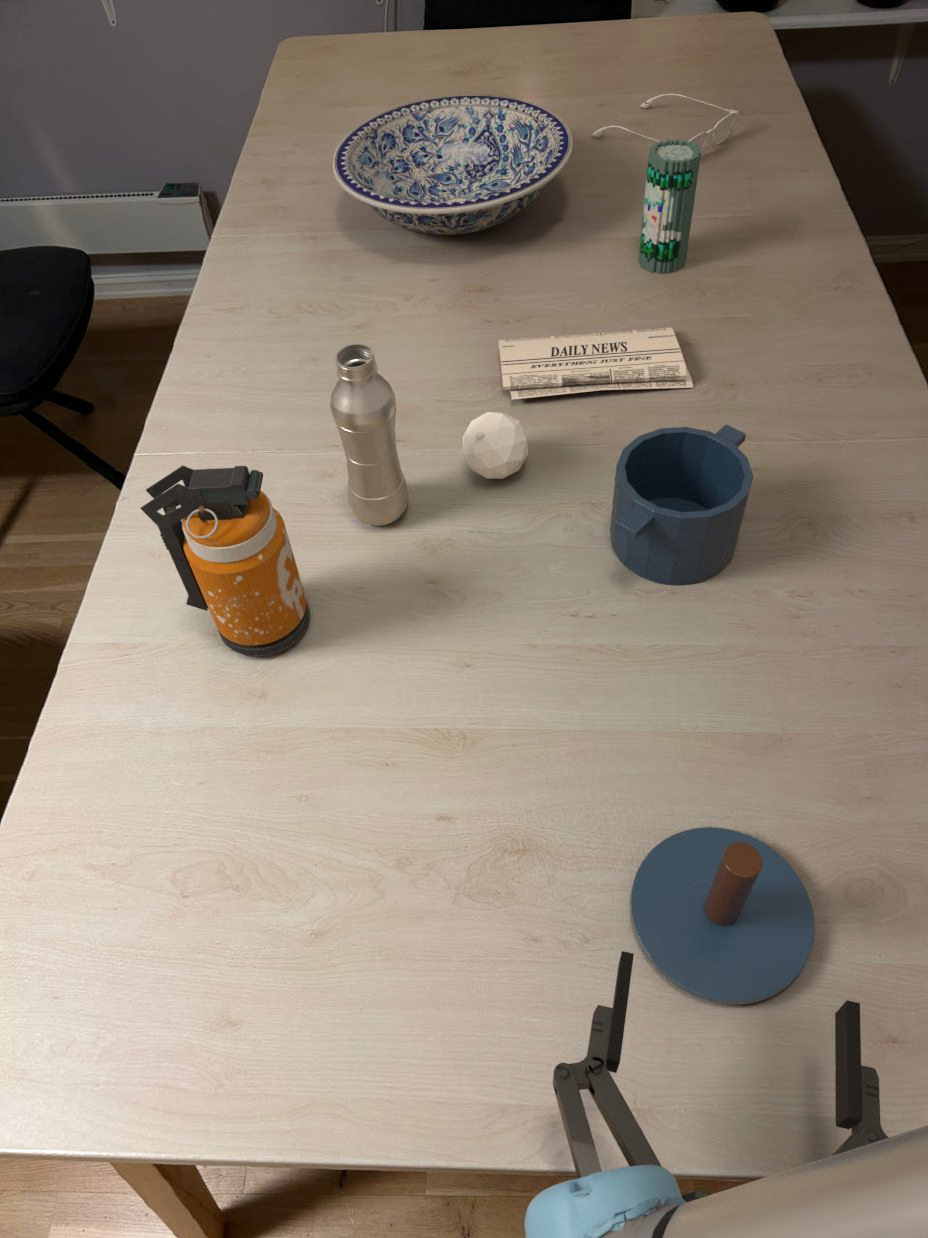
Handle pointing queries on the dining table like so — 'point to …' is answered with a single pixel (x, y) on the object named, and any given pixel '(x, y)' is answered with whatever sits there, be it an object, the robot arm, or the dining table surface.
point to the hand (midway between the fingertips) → (734, 982)
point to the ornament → (495, 445)
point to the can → (668, 205)
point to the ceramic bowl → (453, 161)
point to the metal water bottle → (368, 437)
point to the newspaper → (593, 363)
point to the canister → (232, 556)
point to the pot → (680, 503)
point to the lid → (722, 915)
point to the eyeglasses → (698, 139)
